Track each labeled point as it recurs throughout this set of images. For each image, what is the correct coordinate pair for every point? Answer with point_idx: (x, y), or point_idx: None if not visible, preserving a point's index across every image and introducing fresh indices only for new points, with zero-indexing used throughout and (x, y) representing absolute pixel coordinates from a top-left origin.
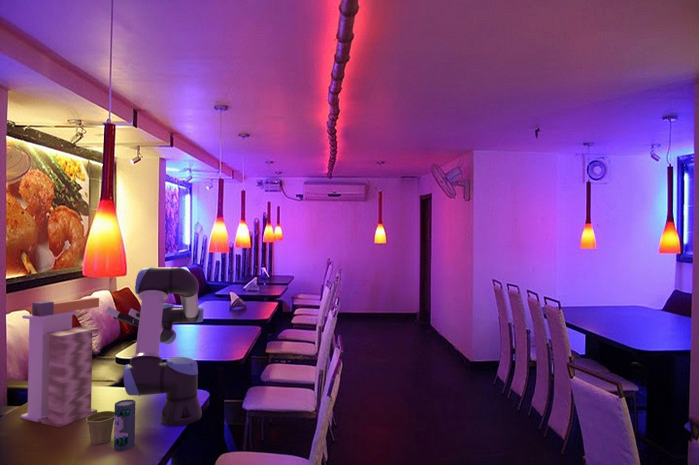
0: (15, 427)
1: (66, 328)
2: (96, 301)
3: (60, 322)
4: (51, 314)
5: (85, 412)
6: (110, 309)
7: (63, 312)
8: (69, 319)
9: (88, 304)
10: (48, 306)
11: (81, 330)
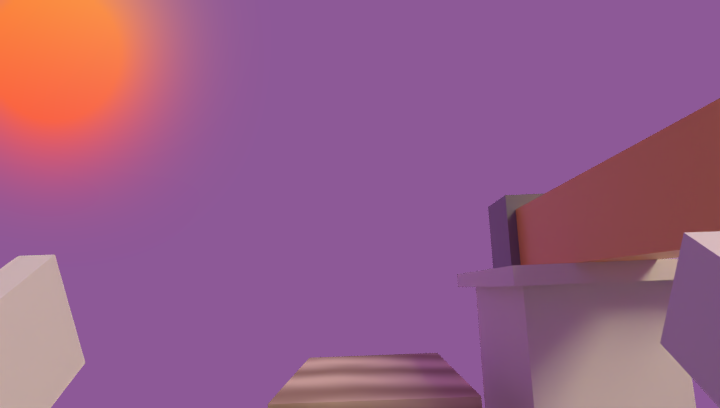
0: None
1: (520, 385)
2: (716, 151)
3: (502, 327)
4: None
5: None
6: (714, 301)
7: None
8: (519, 321)
9: (645, 202)
10: (500, 222)
11: (329, 380)
